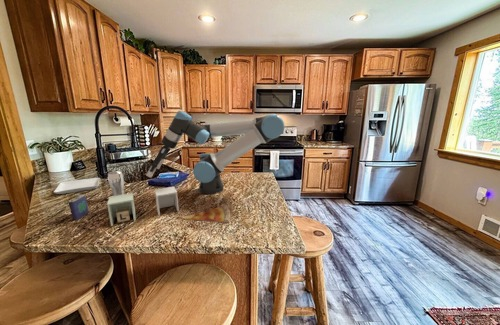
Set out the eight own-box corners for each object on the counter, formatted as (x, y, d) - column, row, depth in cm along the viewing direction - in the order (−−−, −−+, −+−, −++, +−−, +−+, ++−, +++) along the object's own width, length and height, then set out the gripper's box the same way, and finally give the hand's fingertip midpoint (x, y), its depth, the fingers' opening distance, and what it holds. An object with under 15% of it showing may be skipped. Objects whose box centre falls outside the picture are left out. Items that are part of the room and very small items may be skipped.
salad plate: (99, 189, 129) (98, 184, 128) (54, 197, 117) (52, 191, 116) (100, 181, 146) (99, 176, 145) (61, 187, 134) (60, 182, 133)
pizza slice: (196, 205, 105) (195, 201, 105) (237, 207, 102) (237, 204, 101) (181, 219, 90) (180, 215, 90) (229, 223, 86) (228, 219, 86)
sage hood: (113, 217, 92) (109, 196, 90) (135, 212, 96) (132, 193, 94) (111, 226, 84) (107, 204, 82) (135, 220, 89) (132, 199, 87)
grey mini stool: (156, 208, 101) (154, 189, 98) (175, 204, 105) (173, 186, 103) (158, 215, 93) (156, 195, 91) (178, 211, 97) (177, 191, 95)
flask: (84, 211, 98) (80, 190, 96) (91, 211, 98) (87, 190, 96) (70, 221, 89) (65, 198, 87) (78, 220, 89) (73, 198, 87)
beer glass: (119, 201, 110) (114, 174, 107) (108, 200, 111) (104, 174, 108) (129, 196, 117) (125, 171, 113) (118, 195, 118) (114, 170, 115)
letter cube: (118, 218, 91) (117, 209, 90) (130, 215, 93) (128, 207, 92) (117, 222, 87) (116, 213, 86) (129, 220, 90) (128, 210, 89)
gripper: (170, 131, 116) (153, 161, 120) (157, 139, 92) (137, 176, 96) (182, 138, 118) (165, 167, 122) (172, 147, 94) (152, 184, 98)
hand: (152, 172), depth 109 cm, fingers open, 13 cm apart
